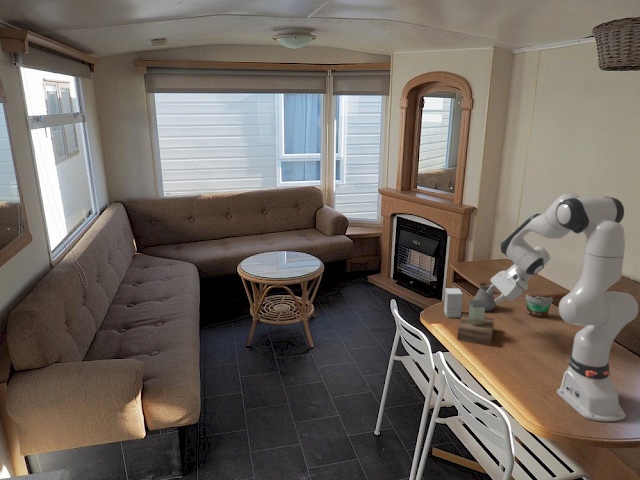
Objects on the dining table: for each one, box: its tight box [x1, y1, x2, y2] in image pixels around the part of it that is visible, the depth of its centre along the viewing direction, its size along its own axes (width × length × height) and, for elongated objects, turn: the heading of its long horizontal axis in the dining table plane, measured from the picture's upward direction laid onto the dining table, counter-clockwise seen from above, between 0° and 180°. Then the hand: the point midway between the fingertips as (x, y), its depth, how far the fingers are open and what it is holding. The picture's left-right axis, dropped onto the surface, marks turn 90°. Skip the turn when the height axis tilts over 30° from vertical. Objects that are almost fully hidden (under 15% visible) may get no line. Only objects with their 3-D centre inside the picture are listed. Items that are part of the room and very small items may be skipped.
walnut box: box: [456, 313, 495, 346], centre depth 211 cm, size 16×14×6 cm
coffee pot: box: [472, 282, 501, 312], centre depth 231 cm, size 21×12×15 cm, turn 2°
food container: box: [524, 294, 554, 319], centre depth 227 cm, size 12×6×10 cm, turn 73°
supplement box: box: [443, 287, 464, 318], centre depth 230 cm, size 7×7×13 cm
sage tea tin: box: [468, 299, 486, 326], centre depth 209 cm, size 5×5×10 cm
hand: (491, 297), depth 206 cm, fingers open, 8 cm apart
